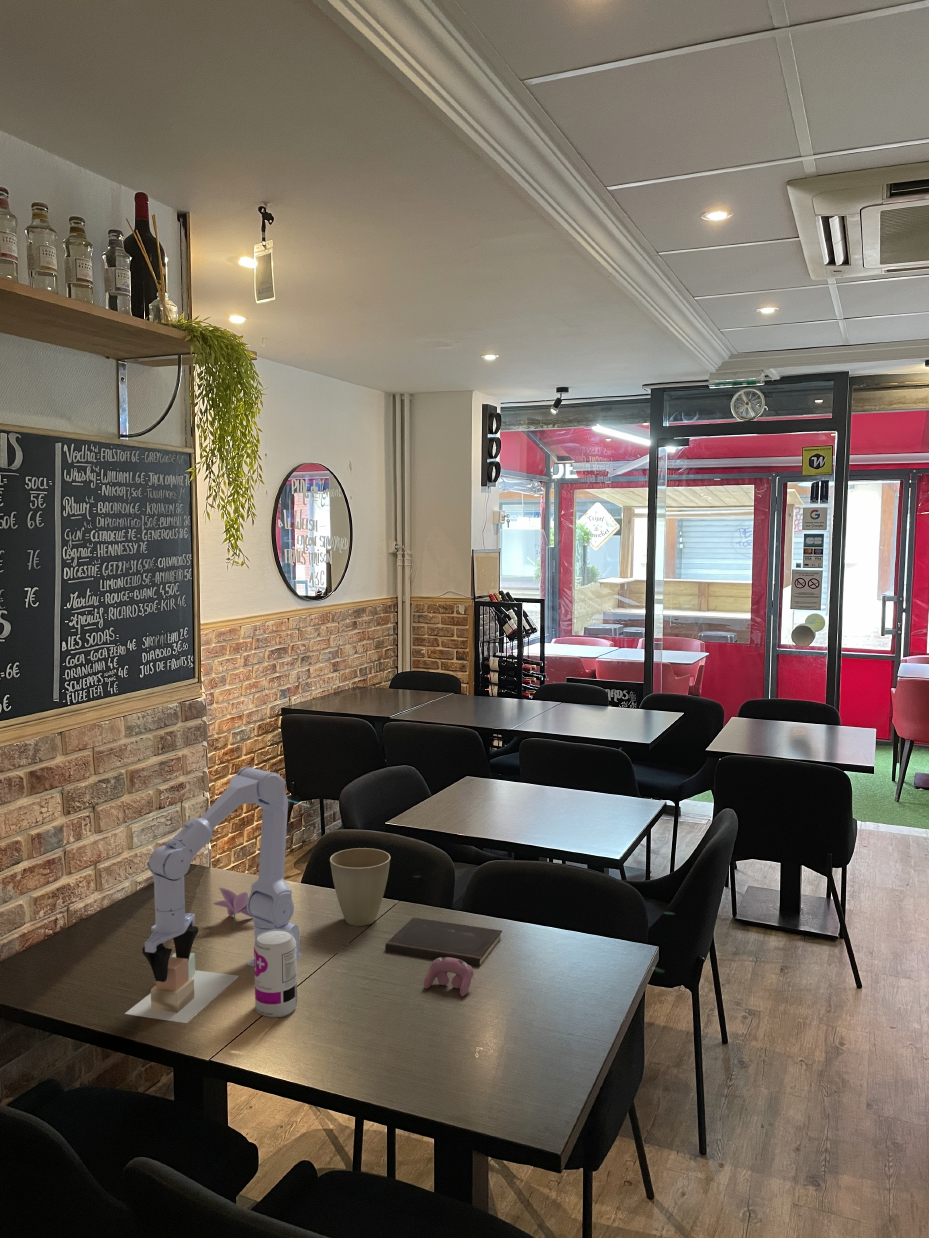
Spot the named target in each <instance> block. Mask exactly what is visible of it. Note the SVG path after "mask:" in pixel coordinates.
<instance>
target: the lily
mask: <svg viewBox="0 0 929 1238" xmlns="http://www.w3.org/2000/svg"><path fill="white" fill-rule="evenodd" d="M219 891H220V893H221V895H222V897H223V899H224V900H219V901H215V902H213V903H212V904H213V905H214V906H218V907H223V908H225V909H226V910H227V911H226V912H227V915H228V917H233V920H232V931H234V930H235V920H236V915H238V914H240V913H241V914H244V915H246V916H248V917H250V918H252V919H253V916H252V915H250V914H249V913H248V910H247V901H248V898H249V894H248V892H247V891H245V892H241V893H239V894H236V893H235V892H233V891H231V890H230V889H227V888H224V887H219Z"/></svg>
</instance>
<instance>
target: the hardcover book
mask: <svg viewBox="0 0 929 1238" xmlns="http://www.w3.org/2000/svg"><path fill="white" fill-rule="evenodd" d="M502 933H503V930H500V929H493V928H488V927H482V926H474V925H468V924H467V925H466V924H462V923H453V922H448V921H440V920H433V919H427V918H420V917H411V919H410V920H409V921H408V922H406V924H404V925H403V926H402V927H401V928H400V929H399V930H398V931H397V932H396V933H395V934H394V935H393V936H392V937H391V938H389V940H388V941H386V943H385V948H384V950H385V952H386V953H387V952H389V953H394V954H398V955H399V954H400V955H406V956H413V957H418V958H424V959H430V960H435V959H437V958H444V957H451V958H456V959H459V960H462V961H464V962H465V963H467V964H468V965H470V966H471V967H472V966H473V967H479V968H480V967H481V964H482V963H483V962H484V960H486V958H487V957H488V955H489V954H490V953H491V951H492V950H493V949H494V948H495V946H496V945H497V943H499V941H500V939H501V938H502V937H501V934H502Z"/></svg>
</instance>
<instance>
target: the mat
mask: <svg viewBox="0 0 929 1238" xmlns="http://www.w3.org/2000/svg"><path fill="white" fill-rule="evenodd" d="M239 977H240V976H239V975H236V974H235V975H233V974H229V973H228V974H226V973H219V972H212V971H206V970H198V969H197V970H196V969H195V974H194V976H193V978H192V979H194V999H193V1000H192V1001H191V1002H190V1003H188V1004H187V1005H186V1006H185V1007H184V1008H183V1009H181V1010H180V1011H179V1012H178V1013H176V1012H169V1011H162V1010H156V1009H151V992H150V993H149V994H148V995H146V996H145V997H144V998H142V1000H140V1001H139V1002H137V1003H136V1004H135V1005H134V1006H132V1007H131V1008H129V1010H127V1011H126V1012H125V1013H124V1015H129V1016H135V1017H136V1016H137V1017H143V1018H149V1019H156V1020H157V1019H158V1020H161V1021H162V1020H164V1021H169V1022H176V1023H181V1024H189V1022H190V1021H191V1020H192V1019H194V1017H196V1016H197V1015H198V1014H199V1013H200V1012H201V1011H203V1010H204V1009H205V1008H206V1007H207V1006H208V1005H209V1004H210V1003H211V1002H213V1000H215V999H216V998H217V997H218V996H219V995H220V994H222V992H224V990H226V989H227V988H228V987H229V986H230V985H232V983H234V982H235V981H236V980H237V979H238V978H239Z"/></svg>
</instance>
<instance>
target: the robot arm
mask: <svg viewBox="0 0 929 1238" xmlns="http://www.w3.org/2000/svg"><path fill="white" fill-rule="evenodd" d="M248 804H257V806H258V807H260V809H261V810H262V814H261V815H262V816H261V832H260V833H261V834H260V849H259V850H260V851H259V868H258V879H257V880H256V881H254V882H252V884H251V888H250V894H249V895H248V901H247V910H248V913H249V914H250V915H252V916H253V918H252V922H253V925H254V927H253V928H254V943H255V942H256V940H257V937H258V936H259V935H260V934H261V933H263V932H265V931H269V930H275V929H283V930H288V931H290V932H291V933H292V934H293V937H294V939H295V940H296V961H297V960H298V959H299V958H300V957H301V956H302V953H301V952H300V951H301V949H300V947H301V946H300V942H301V941H300V928H299V926H298V925H297V924H294V923H292V922H291V921H290V920H291V919H292V917H293V915H294V911H295V903H294V901H293V898H292V897H293V896H292V895H293V894H292V892H293V891H292V889H291V888H290V886H289V884H288V883H287V882H286V880H285V879H284V878H285V865H286V863H285V862H286V845H287V844H286V843H287V827H288V811H289V809H288V808H289V798H288V796H287V793H286V779H284V778H283V777H282V776H281V775H279V774H278V773H277V772H273V771H271V772H270V771H267V770H262V769H259V768H258V769H257V768H254V767H252V766H244V767H242V768H240V769H239V770H238V772H236V774H235V775H234V776H232V777H231V778H230V781H229V785H228V786H227V788H226V789H225V790H224V791H223V793H221V795H220V796H219V797H218V798H217V799H216V800H215V801H214V802H213V804H211V806H210V807H209V808H208V809H207V811H206V812H205V813H204V814H203V815H202V816H201V817H199V818H198V817H197V818H196V817H195V818H192V819H190V820H187V821H186V822H185V823H184V824H183V825H184V827H182V828H181V829H180V830H179V831H178V832H177V833H176V834H175V835H174V836H173V837H172V838H169V840H168V841H167V842H166V844H165V845H162V846H160V845H159V846H158V847H157V848H155V849H154V850H153V852H152V853H151V854H150V856H149V861H148V862H146V866H147V868H148V870H149V871H150V872H151V874H152V880H153V883H154V884H153V887H154V888H153V889H154V912H155V913H154V915H155V919H154V920H155V921H154V922H155V924H154V925H152V926H151V927H150V928H151V929H150V930H151V932H152V933H151V934H150V936H149V938H148V939H147V940H146V941H144V946H143V947H142V949H141V950H142V954H143V956H144V957H145V958H146V960H147V961H148V963H149V965H150V967H151V970H152V973H153V977H154V979H155V982H156V981H160V982H165V981H166V980H167V974H168V962H169V957H171V954H172V951H173V948H169V947H166V946H165V945H164V943H166V942H168V941H169V940H172V941H173V944H174V950H175V953H176V958H184V959H188V961H189V957H190V953H192V952H191V951H192V948H193V944H194V941H195V939H196V937H197V935H198V932H199V927H198V926H196V925H195V924H196V914H195V913H189V912H188V913H186V903H185V902H186V901H185V900H186V899H185V898H186V897H185V875H186V874H187V873H188V872H189V869H190V866H191V863H192V861H193V860H194V857H195V856H196V855H198V853H199V852H200V851H201V850H202V849H203V848H205V846H206V845H207V844H209V842H210V841H211V840H212V838H213V836H214V835H213V832H214V831H213V830H214V829H215V828H216V827H217V826H218V825H219V824H220V823H222V822H223V821H224V820H225V819H226V818H228V817H229V815H231V814H232V813H233V812H234V811H235V810H236V809H238V807H240V806H241V805H248ZM194 925H195V926H194ZM247 966H251V967H254V957H253V958H252V959H250V961H249V962H248V963H247Z"/></svg>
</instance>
